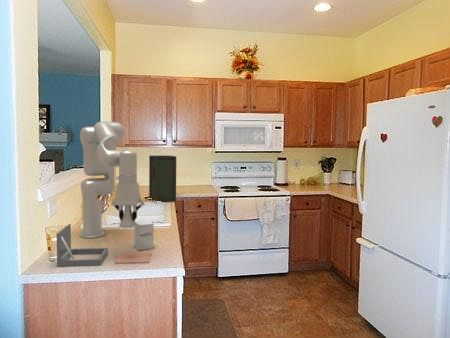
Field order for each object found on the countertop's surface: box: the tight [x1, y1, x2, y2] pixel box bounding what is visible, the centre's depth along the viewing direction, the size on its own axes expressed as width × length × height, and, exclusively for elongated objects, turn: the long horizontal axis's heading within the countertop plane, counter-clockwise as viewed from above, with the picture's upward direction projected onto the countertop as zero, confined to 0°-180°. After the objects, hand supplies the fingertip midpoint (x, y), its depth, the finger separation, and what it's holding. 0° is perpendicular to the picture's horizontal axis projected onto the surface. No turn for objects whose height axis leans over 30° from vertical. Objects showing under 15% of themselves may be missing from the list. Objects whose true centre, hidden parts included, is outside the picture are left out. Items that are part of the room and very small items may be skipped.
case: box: [56, 223, 109, 268], centre depth 150 cm, size 16×17×14 cm
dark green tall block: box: [148, 155, 177, 204], centre depth 304 cm, size 18×18×40 cm
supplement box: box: [134, 220, 154, 252], centre depth 168 cm, size 7×7×13 cm
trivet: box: [115, 250, 152, 265], centre depth 153 cm, size 14×14×1 cm
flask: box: [119, 205, 137, 228], centre depth 152 cm, size 7×7×10 cm
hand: (128, 219), depth 152 cm, fingers closed on flask, 4 cm apart
